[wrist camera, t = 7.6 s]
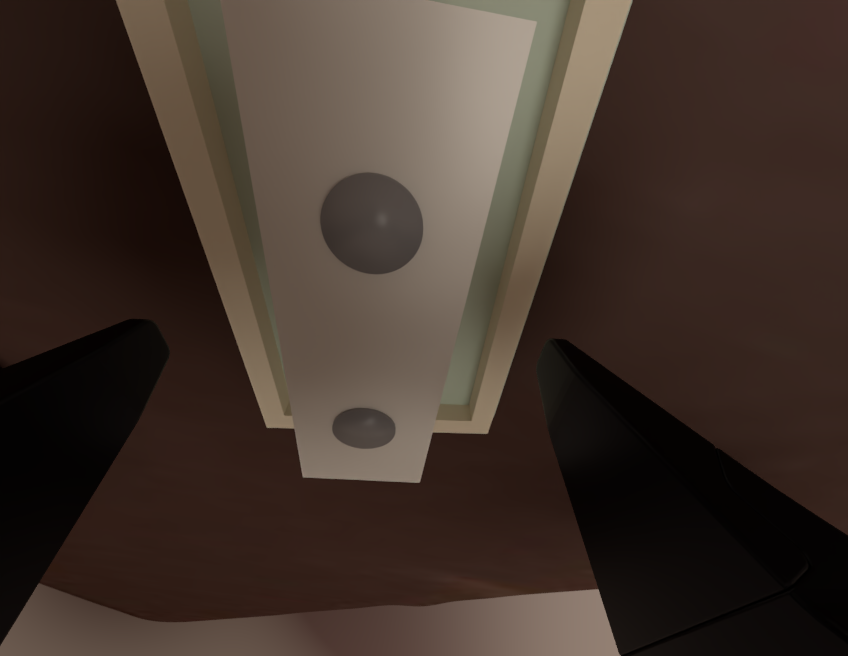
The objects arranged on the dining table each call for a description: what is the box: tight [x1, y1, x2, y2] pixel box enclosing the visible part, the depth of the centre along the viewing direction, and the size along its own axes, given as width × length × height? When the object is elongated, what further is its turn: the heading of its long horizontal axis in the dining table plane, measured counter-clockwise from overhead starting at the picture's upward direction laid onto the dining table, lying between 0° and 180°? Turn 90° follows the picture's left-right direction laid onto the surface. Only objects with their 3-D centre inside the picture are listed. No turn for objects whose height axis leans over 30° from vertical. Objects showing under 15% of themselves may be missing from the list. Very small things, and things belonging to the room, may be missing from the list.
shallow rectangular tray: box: [116, 0, 633, 434], centre depth 12 cm, size 18×12×2 cm, turn 175°
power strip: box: [220, 0, 537, 483], centre depth 9 cm, size 13×4×5 cm, turn 172°
